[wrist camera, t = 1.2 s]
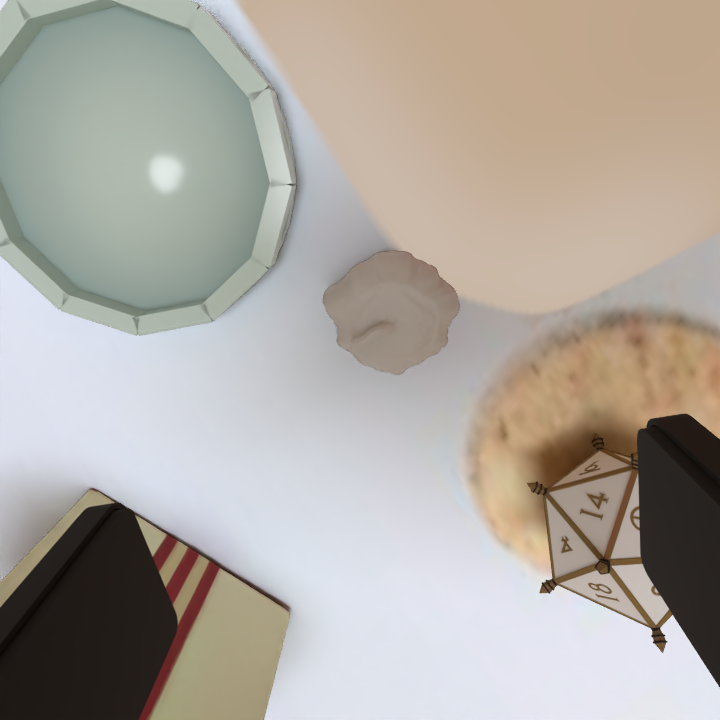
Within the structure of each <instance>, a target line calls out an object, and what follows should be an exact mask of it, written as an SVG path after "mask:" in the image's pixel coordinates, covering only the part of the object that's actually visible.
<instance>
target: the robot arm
mask: <svg viewBox="0 0 720 720" xmlns="http://www.w3.org/2000/svg"><path fill="white" fill-rule="evenodd" d="M637 445H638V484H639V524H640V555H641V560H642V564H643V567H644V569H645V572H646V574H647V575H648V577H649V579H650V580H651V582H652V583H653V585H654V586H655V588H656V590H657V591H658V593H659V594H660V596H661V597H662V599H663V600H664V602H665V603H666V605H667V607H668V608H669V610H670V611H671V613H672V614H673V616H674V617H675V619H676V621H677V622H678V624H679V625H680V627H681V628H682V630H683V631H684V633H685V634H686V636H687V638H688V639H689V641H690V642H691V644H692V645H693V647H694V648H695V650H696V651H697V653H698V655H699V656H700V658H701V659H702V661H703V662H704V664H705V665H706V667H707V668H708V670H709V672H710V673H711V675H712V676H713V678H714V679H715V681H716V682H717V684H718V685H719V687H720V439H719V438H717V437H716V436H715V435H714V434H712V433H711V432H710V431H709V430H707V429H706V428H705V427H704V426H703V425H701V424H700V423H699V422H698V421H696V420H695V419H694V418H693V417H691V416H690V415H688V414H679V415H673V416H666V417H660V418H653V419H650V420H649V421H648V423H647V428H644V429H640V430H639V431H638V436H637ZM177 627H178V619H177V614H176V611H175V609H174V607H173V604H172V602H171V599H170V597H169V595H168V592H167V590H166V588H165V585H164V583H163V580H162V578H161V576H160V573H159V571H158V569H157V566H156V564H155V561H154V559H153V557H152V554H151V552H150V550H149V547H148V545H147V542H146V540H145V538H144V535H143V533H142V530H141V528H140V526H139V523H138V521H137V519H136V516H135V514H134V513H133V511H132V510H131V509H126V508H125V506H123V505H122V504H121V503H110V504H104V505H98V506H91V507H88V508H86V509H85V510H84V511H83V512H82V513H81V514H80V515H79V516H78V517H77V519H76V520H75V521H74V522H73V523H72V524H71V526H70V527H69V528H68V529H67V530H66V531H65V533H64V534H63V535H62V536H61V537H60V538H59V540H58V541H57V542H56V543H55V544H54V545H53V547H52V548H51V549H50V550H49V551H48V552H47V553H46V555H45V556H44V557H43V558H42V559H41V560H40V562H39V563H38V564H37V565H36V566H35V567H34V569H33V570H32V571H31V572H30V573H29V574H28V576H27V577H26V578H25V579H24V580H23V581H22V583H21V584H20V585H19V586H18V587H17V588H16V589H15V591H14V592H13V593H12V594H11V595H10V596H9V598H8V599H7V600H6V601H5V602H4V603H3V605H2V606H1V607H0V720H139V718H140V716H141V714H142V711H143V709H144V707H145V704H146V702H147V700H148V698H149V695H150V693H151V691H152V688H153V686H154V684H155V682H156V679H157V677H158V675H159V672H160V670H161V668H162V666H163V663H164V661H165V659H166V656H167V654H168V652H169V650H170V647H171V645H172V643H173V640H174V638H175V636H176V633H177Z"/></svg>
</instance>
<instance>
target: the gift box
mask: <svg viewBox="0 0 720 720" xmlns="http://www.w3.org/2000/svg"><path fill="white" fill-rule="evenodd" d="M110 503H115V502H113V501H112V500H110V499H109V498H107V497H106V496H104V495H103V494H101V493H99V492H98V491H95V490H92V489H90V490H88V491H87V493H86V494H85V495H84V496H83V497H82V498H81V499H80V500H79V501H78V502H77V503H76V504H75V505H74V506H73V507H72V509H71V510H70V511H69V512H68V513H67V514H66V515H65V516H64V517H63V518H62V519H61V520H60V521H59V522H58V523H57V524H56V525H55V526H54V527H53V528H52V529H51V530H50V532H49V533H48V534H47V535H46V536H45V537H44V538H43V539H42V540H41V541H40V542H39V543H38V544H37V545H36V546H35V547H34V548H33V549H32V550H31V551H30V552H29V553H28V554H27V555H26V556H25V557H24V558H23V559H22V560H21V561H20V562H19V563H18V565H17V566H16V567H15V568H14V569H13V570H12V571H11V572H10V573H9V574H8V575H7V576H6V577H5V578H4V579H3V580H2V581H1V582H0V607H1V606H2V605H3V603H4V602H5V601H6V600H7V599H8V598H9V596H10V595H11V594H12V593H13V592H14V591H15V589H16V588H17V587H18V586H19V585H20V584H21V583H22V581H23V580H24V579H25V578H26V577H27V576H28V574H29V573H30V572H31V571H32V570H33V569H34V567H35V566H36V565H37V564H38V563H39V562H40V560H41V559H42V558H43V557H44V556H45V555H46V553H47V552H48V551H49V550H50V549H51V548H52V547H53V545H54V544H55V543H56V542H57V541H58V540H59V538H60V537H61V536H62V535H63V534H64V533H65V531H66V530H67V529H68V528H69V527H70V526H71V524H72V523H73V522H74V521H75V520H76V519H77V517H78V516H79V515H80V514H81V513H82V512H83V511H84V510H85V509H86V508H88V507H91V506H98V505H104V504H110ZM135 516H136V515H135ZM136 519H137V521H138V523H139V526H140V528H141V530H142V533H143V535H144V538H145V540H146V542H147V545H148V547H149V550H150V552H151V554H152V557H153V559H154V561H155V564H156V566H157V569H158V571H159V573H160V576H161V578H162V580H163V583H164V585H165V588H166V590H167V592H168V595H169V597H170V599H171V602H172V604H173V607H174V609H175V611H176V614H177V619H178V627H177V633H176V636H175V638H174V640H173V643H172V645H171V647H170V650H169V652H168V654H167V656H166V659H165V661H164V663H163V666H162V668H161V670H160V672H159V675H158V677H157V679H156V682H155V684H154V686H153V688H152V691H151V693H150V695H149V698H148V700H147V702H146V704H145V707H144V709H143V711H142V714H141V716H140V718H139V720H264V717H265V713H266V709H267V705H268V701H269V698H270V694H271V690H272V686H273V683H274V679H275V674H276V670H277V665H278V662H279V658H280V654H281V650H282V646H283V642H284V638H285V634H286V630H287V626H288V622H289V618H290V614H289V612H288V611H287V610H285V609H284V608H283V607H281V606H280V605H278V604H277V603H275V602H274V601H272V600H271V599H269V598H267V597H266V596H264V595H263V594H261V593H259V592H258V591H256V590H255V589H253V588H251V587H250V586H248V585H247V584H245V583H243V582H242V581H240V580H239V579H237V578H235V577H234V576H232V575H231V574H229V573H227V572H226V571H224V570H223V569H221V568H220V567H218V566H217V565H216V564H214V563H212V562H211V561H209V560H207V559H206V558H204V557H203V556H201V555H199V554H198V553H197V552H195V551H193V550H192V549H190V548H189V547H187V546H185V545H184V544H182V543H181V542H179V541H177V540H176V539H174V538H172V537H171V536H169V535H167V534H165V533H164V532H162V531H160V530H159V529H157V528H156V527H154V526H153V525H151V524H149V523H148V522H146V521H145V520H143V519H141V518H140V517H138V516H136Z"/></svg>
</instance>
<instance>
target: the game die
mask: <svg viewBox="0 0 720 720" xmlns="http://www.w3.org/2000/svg"><path fill="white" fill-rule="evenodd" d="M602 441H603V438H601V437H599V436H598V435H597V434H595V436H594V439H593V441H592V442H593V444H594V445H593V447H595V448H596V449H597V451H596V452H595V453H593V454H592V455H591V456H589V457H588V458H587V459H585V460H584V461H583V462H581V463H580V464H579V465H577V466H576V467H575V468H573V469H572V470H571V471H569V472H568V473H567V474H565V475H564V476H563V477H561V478H560V479H559V480H557V481H556V482H555V483H553V484H552V485H551V486H549V487H548V488H544V487H543V486H542V484H539V483H538V482H535V483H527V484H528V486H529V487H530V488H531V491H532V492H533V493H534V492H535V493H537V494H538V495H539V494H542V495H543V499H544V508H545V517H546V525H547V534H548V543H549V551H550V560H551V569H552V579H551V580H548V581H547V580H546V582H544V583H543V582H542V586H541V590H540V593H549V594H550V592H551V591H552V590H553V591H554V588H555V587H556V586H557V585H559V586H561V587H563V588H565V589H567V590H569V591H571V592H574V593H576V594H578V595H580V596H582V597H584V598H587V599H589V600H591V601H593V602H595V603H597V604H600V605H602V606H604V607H606V608H608V609H610V610H612V611H615V612H617V613H619V614H621V615H623V616H625V617H628V618H630V619H632V620H634V621H636V622H638V623H641V624H643V625H645V626H647V627H649V628H651V629H652V635H651V636H652V637H653V639H654V642H653V643H655V644H656V646H657V647H658V648H659V649H660V650H661V652H662V653H663V651H664V648H665V644H666V642H667V641H666V640H665V638H664V636H665V635H663V633H662V632H661V630H660V627H661V626H662V625H663V624H664V623H665V622H666V621H667V620H668V619H669V618H670V617H671V616H672V615H673V614H672V613H671V611H670V610H669V608H668V607H667V605H666V603H665V602H664V600H663V599H662V597H661V596H660V594H659V593H658V591H657V590H656V588H655V586H654V585H653V583H652V582H651V580H650V579H649V577H648V575H647V574H646V572H645V569H644V567H643V564H642V560H641V555H640V524H639V484H638V452H636V453H634V454H631V457H629V456H626V455H623V454H619V453H616V452H613V451H609V450H606V449H604V448H603V446H604V442H602Z"/></svg>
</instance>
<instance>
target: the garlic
mask: <svg viewBox="0 0 720 720" xmlns="http://www.w3.org/2000/svg"><path fill="white" fill-rule="evenodd" d="M323 304H324V306H325V308H326V311H327V313H328V315H329V316H330V318H332V319H333V321H334V324H335V325H336V327H337V335H338V336H337V343H338V345H339V346H340V347H342V348H344V349H345V350H347V351H349V352H350V353H352V354H353V356H354V357H355V358H356V359H357V360H358V362H360V363H361V364H362V365H365V366H369V367H372V368H374V369H376V370H379V371H382V372H389V373H393V374H396V375H400V374H402V373H403V372H404V371H405V370H406V369H408V368H409V367H411V366H413V365H418V364H420V363H421V362H423V361H424V360H425V359H426V358H428V357H430V356H432V355H435V354H437V353H438V352H439V351H440V350H441V348H443V347H445V346H446V344H447V342H448V338H447V333H448V327H449V325H450V324H451V321H452V319H453V318H454V317H455V316H456V315H457V313H458V311H459V309H460V304H459V300H458V296H457V293H456V291H455V290H454V288H453V287H452V286H451V285H450V284H448V283H447V282H446V281H445V280H443V279H442V278H441V277H440V276H439V274H438V271H437V269H436V268H435V267H434V266H432V265H428V264H427V263H425V262H423V261H421V260H418V259H416V258H414V257H413V256H412V254H410V253H408V252H405V251H401V252H400V251H388V252H379V253H377V254H375V255H373V256H372V257H371V258H370V259H368V260H365V261H364V262H361V263H359V264H357V265H356V266H354V267H353V268H352V269H351V270H350V272H349V273H348V274H347V275H346V276H345V277H344V278H343V279H342V280H341V281H339V282H338V283H336V284H334V285H332V286H330V287H329V288H328V289H327V290H326V291H325V292H324V295H323Z"/></svg>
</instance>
